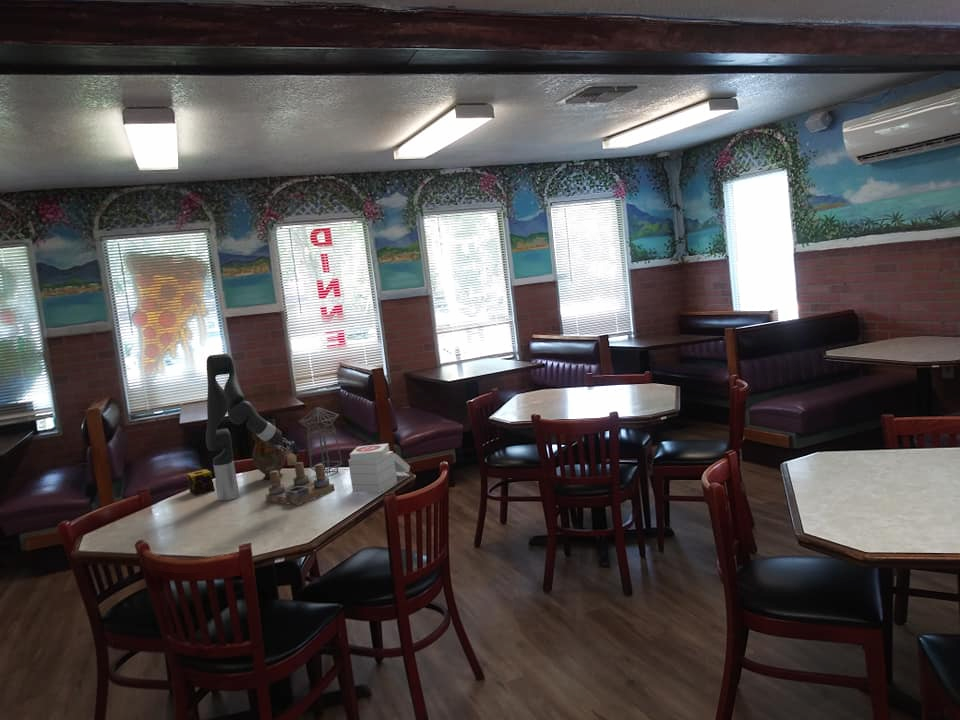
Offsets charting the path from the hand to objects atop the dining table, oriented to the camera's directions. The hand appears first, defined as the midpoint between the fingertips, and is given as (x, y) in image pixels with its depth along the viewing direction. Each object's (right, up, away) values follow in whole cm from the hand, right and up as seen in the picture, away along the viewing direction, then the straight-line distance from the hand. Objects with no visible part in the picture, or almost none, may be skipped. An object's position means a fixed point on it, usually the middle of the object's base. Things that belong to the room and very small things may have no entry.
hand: (294, 453), depth 327 cm
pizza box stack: (+36, -16, +17) cm, 43 cm away
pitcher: (-25, -20, +50) cm, 59 cm away
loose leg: (-1, -5, -1) cm, 5 cm away
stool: (0, -21, +11) cm, 24 cm away
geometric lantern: (+5, -17, +45) cm, 48 cm away
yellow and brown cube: (-57, -25, +41) cm, 74 cm away
